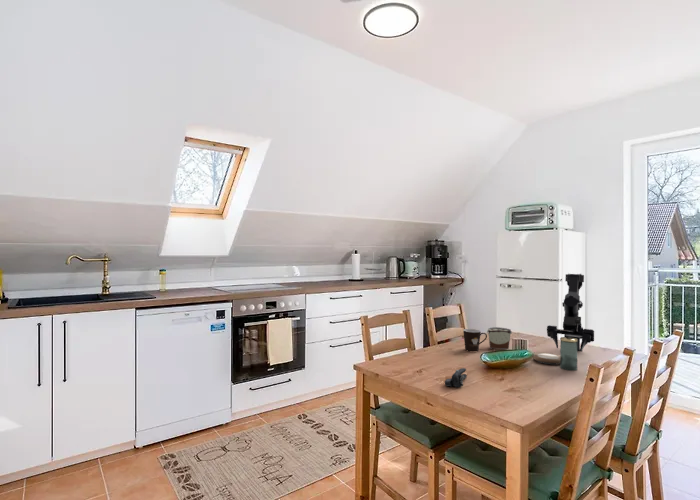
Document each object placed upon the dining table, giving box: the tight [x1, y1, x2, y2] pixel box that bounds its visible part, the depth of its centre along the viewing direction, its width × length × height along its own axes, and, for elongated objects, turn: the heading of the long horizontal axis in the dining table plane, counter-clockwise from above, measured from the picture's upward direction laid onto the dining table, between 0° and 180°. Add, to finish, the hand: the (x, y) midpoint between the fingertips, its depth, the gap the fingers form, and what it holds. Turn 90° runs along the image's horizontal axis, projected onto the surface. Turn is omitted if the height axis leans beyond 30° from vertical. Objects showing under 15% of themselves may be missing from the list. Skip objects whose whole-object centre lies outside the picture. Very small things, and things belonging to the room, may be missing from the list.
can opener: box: [444, 367, 468, 388], centre depth 164 cm, size 18×7×6 cm, turn 149°
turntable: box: [532, 352, 560, 363], centre depth 194 cm, size 13×13×1 cm
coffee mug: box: [462, 328, 488, 352], centre depth 213 cm, size 12×9×10 cm
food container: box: [486, 326, 513, 350], centre depth 221 cm, size 12×6×10 cm, turn 84°
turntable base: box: [535, 360, 560, 365], centre depth 194 cm, size 10×10×1 cm
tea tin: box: [559, 336, 578, 372], centre depth 184 cm, size 7×7×13 cm
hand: (568, 349), depth 184 cm, fingers open, 9 cm apart
